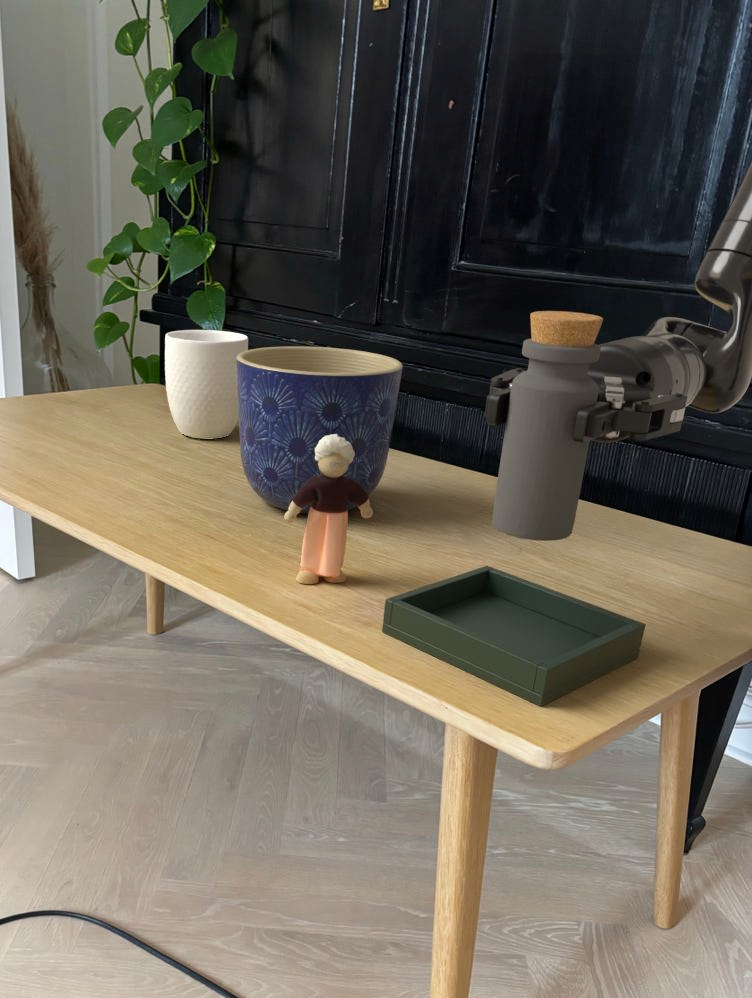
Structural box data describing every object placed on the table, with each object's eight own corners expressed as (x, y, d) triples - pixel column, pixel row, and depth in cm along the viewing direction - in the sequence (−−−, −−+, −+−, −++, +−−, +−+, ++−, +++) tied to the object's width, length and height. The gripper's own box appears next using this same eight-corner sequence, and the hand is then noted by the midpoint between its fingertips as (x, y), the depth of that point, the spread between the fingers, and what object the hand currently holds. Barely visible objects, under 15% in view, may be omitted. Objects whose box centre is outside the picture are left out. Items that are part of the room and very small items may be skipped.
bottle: (510, 510, 73) (541, 307, 67) (584, 527, 70) (624, 316, 64) (478, 529, 69) (508, 313, 62) (555, 547, 66) (595, 323, 59)
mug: (170, 417, 137) (170, 324, 132) (246, 421, 138) (249, 327, 132) (161, 442, 124) (160, 339, 118) (244, 445, 124) (248, 343, 119)
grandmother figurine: (295, 590, 80) (304, 442, 74) (277, 574, 83) (284, 431, 77) (374, 580, 83) (388, 437, 77) (354, 565, 86) (366, 426, 80)
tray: (638, 657, 71) (646, 623, 70) (540, 707, 63) (547, 670, 62) (482, 595, 81) (486, 565, 79) (381, 632, 73) (385, 598, 72)
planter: (273, 535, 92) (280, 376, 86) (209, 487, 106) (211, 347, 99) (419, 518, 99) (436, 370, 93) (340, 476, 113) (350, 344, 106)
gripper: (550, 327, 78) (449, 347, 66) (731, 350, 70) (652, 377, 58) (536, 418, 81) (436, 452, 70) (707, 450, 73) (627, 494, 62)
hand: (535, 418), depth 64 cm, fingers closed on bottle, 6 cm apart
